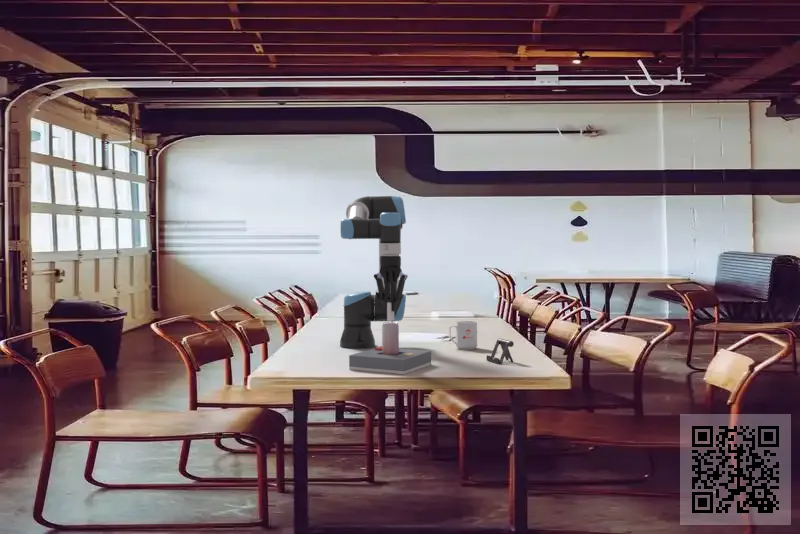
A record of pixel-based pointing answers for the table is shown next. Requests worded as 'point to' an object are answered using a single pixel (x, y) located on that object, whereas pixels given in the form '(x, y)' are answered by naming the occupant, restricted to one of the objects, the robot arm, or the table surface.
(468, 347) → the mug
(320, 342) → the table surface
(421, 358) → the socket
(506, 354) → the portable electronic device stand
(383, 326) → the beverage can
